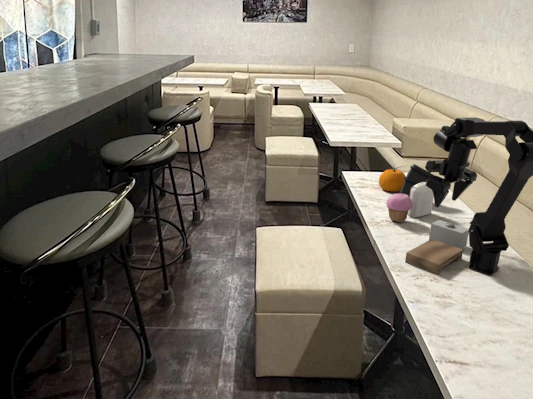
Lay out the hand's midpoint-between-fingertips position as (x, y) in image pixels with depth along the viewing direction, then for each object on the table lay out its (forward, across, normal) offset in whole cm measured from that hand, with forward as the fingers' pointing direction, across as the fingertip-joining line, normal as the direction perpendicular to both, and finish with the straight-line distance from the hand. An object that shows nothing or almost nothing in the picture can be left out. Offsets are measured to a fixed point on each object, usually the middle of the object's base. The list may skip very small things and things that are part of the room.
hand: (445, 203), depth 148 cm
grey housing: (+11, +2, +5) cm, 13 cm away
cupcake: (+15, 0, -16) cm, 22 cm away
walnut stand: (+10, +16, +10) cm, 22 cm away
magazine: (+17, -24, -25) cm, 39 cm away
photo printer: (+15, -12, -15) cm, 25 cm away
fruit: (+20, -28, -40) cm, 53 cm away
